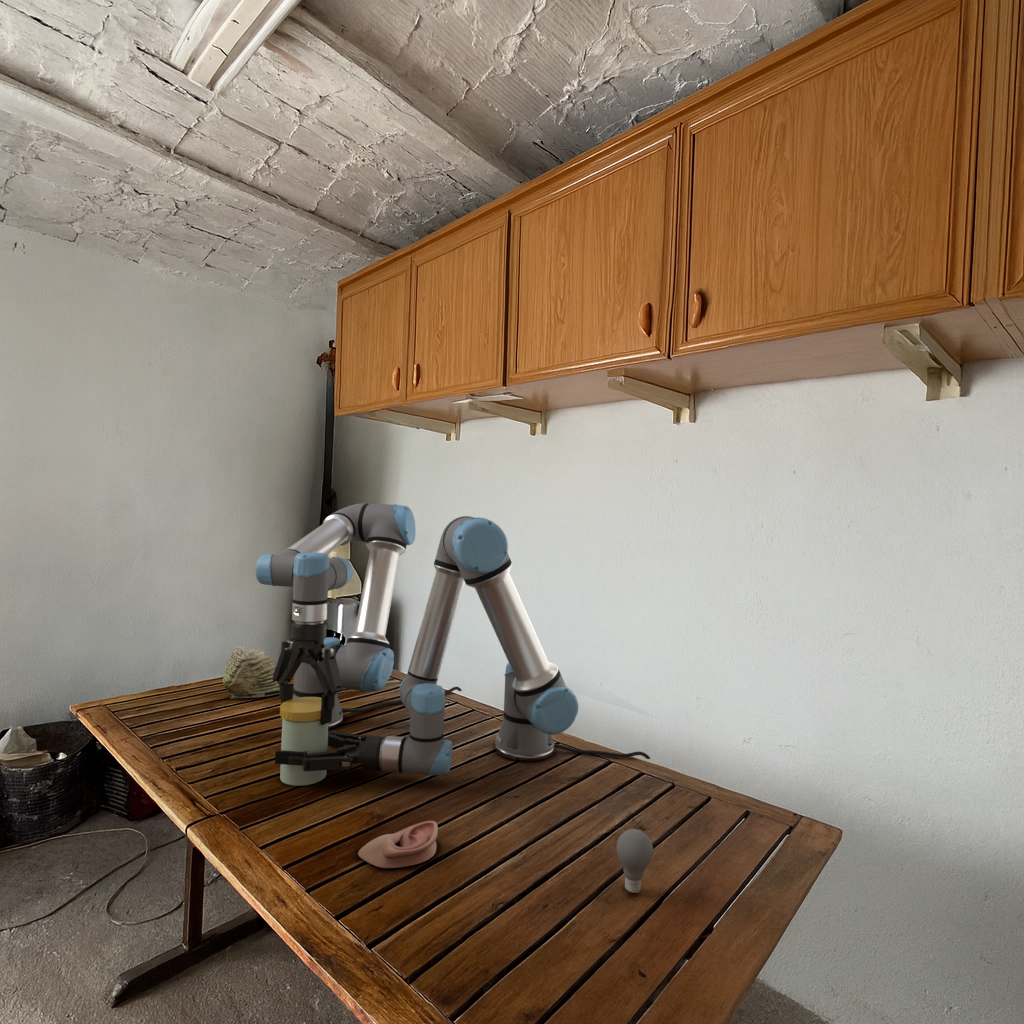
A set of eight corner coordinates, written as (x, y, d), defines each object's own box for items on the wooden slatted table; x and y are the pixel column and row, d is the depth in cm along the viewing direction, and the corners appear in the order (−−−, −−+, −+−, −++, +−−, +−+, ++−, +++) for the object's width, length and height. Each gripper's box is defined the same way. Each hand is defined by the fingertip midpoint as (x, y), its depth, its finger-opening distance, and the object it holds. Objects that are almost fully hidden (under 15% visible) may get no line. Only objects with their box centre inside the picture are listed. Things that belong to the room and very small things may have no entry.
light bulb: (610, 879, 108) (613, 822, 108) (644, 879, 109) (647, 822, 109) (619, 902, 102) (622, 840, 102) (655, 901, 103) (658, 840, 103)
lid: (273, 709, 144) (274, 701, 144) (322, 702, 151) (322, 694, 151) (287, 724, 135) (288, 715, 135) (338, 716, 142) (339, 707, 142)
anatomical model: (350, 840, 110) (378, 809, 121) (349, 863, 110) (377, 829, 121) (423, 852, 107) (444, 819, 118) (422, 875, 107) (443, 840, 118)
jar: (307, 762, 150) (310, 697, 150) (335, 774, 145) (338, 706, 144) (270, 776, 142) (273, 707, 142) (298, 790, 136) (301, 718, 136)
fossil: (218, 695, 195) (220, 647, 195) (278, 685, 208) (279, 640, 207) (228, 703, 189) (230, 653, 188) (289, 692, 201) (290, 645, 201)
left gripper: (257, 617, 144) (254, 713, 145) (339, 630, 134) (335, 733, 135) (282, 613, 151) (279, 704, 151) (361, 625, 141) (358, 722, 141)
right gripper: (368, 793, 131) (263, 786, 132) (394, 750, 154) (304, 744, 155) (369, 757, 131) (264, 750, 132) (395, 719, 153) (305, 714, 155)
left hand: (305, 718), depth 143 cm, fingers open, 11 cm apart
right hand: (286, 747), depth 143 cm, fingers closed on jar, 10 cm apart
